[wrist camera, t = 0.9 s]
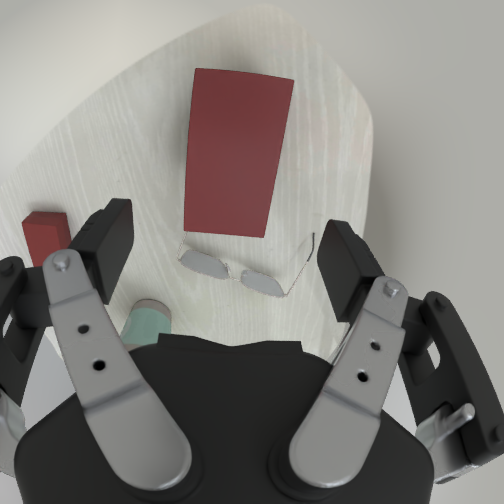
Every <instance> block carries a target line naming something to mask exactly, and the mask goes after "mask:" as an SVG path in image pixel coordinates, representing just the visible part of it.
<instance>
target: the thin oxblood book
mask: <svg viewBox="0 0 504 504" xmlns="http://www.w3.org/2000/svg"><path fill="white" fill-rule="evenodd" d="M293 85H294V80H291V79H286V78H280V77H275V76H268V75H262V74H255V73H247V72H239V71H229V70H218V69H204V68H195V74H194V82H193V91H192V101H191V111H190V122H189V133H188V146H187V161H186V179H185V201H184V231H190V232H202V233H214V234H226V235H237V236H248V237H259V238H264V235H265V230H266V225H267V220H268V215H269V210H270V204H271V199H272V194H273V189H274V184H275V179H276V174H277V169H278V164H279V159H280V153H281V148H282V143H283V138H284V133H285V127H286V122H287V117H288V112H289V106H290V101H291V96H292V91H293Z"/></svg>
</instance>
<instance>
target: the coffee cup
mask: <svg viewBox="0 0 504 504" xmlns="http://www.w3.org/2000/svg"><path fill="white" fill-rule="evenodd" d="M159 333H167V334H171V313H170V311H169V309H168V308H167V307H166V306H165V305H163V304H162V303H160V302H158V301H155V300H148V299H146V300H140V301H138V302H137V303H135V305H134V306H133V308H132V310H131V313H130V315H129V317H128V319H127V321H126V323H125V326H124V328H123V330H122V332H121V334H120V338H121V340H122V342H123V344H124V345H125V347H126V349H127V351H130V350H132V349H135V348H137V347H140V346H143V345H147V344H153V343H157V340H158V335H159Z"/></svg>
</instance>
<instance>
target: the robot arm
mask: <svg viewBox="0 0 504 504" xmlns="http://www.w3.org/2000/svg"><path fill="white" fill-rule="evenodd" d="M133 242H134V226H133V212H132V202H131V200H130V199H120V198H113V199H111V201H110V202H109V203H108V205H107V206H106V207H105V209H104V210H102V209H100V210H98V211H97V212H95V213H94V214H92V215H91V216H90V217H89V218H88V220H87V221H86V222H85V224H84V225H83V226H82V228H81V231H79V232H78V233H77V235H76V236H75V238H74V239H73V240H72V242H71V243H70V245H69V246H68V248H67V249H62V250H58V251H56V252H54V253H52V254H50V255H49V256H48V257H47V258H46V259H45V261H44V262H43V266H37V267H30V268H25V266H24V263H23V260H22V259H21V258H20V257H18V256H10V257H7V258H4V259H2V260H1V261H0V472H3V473H5V474H7V475H9V476H12V477H14V478H16V481H17V484H18V487H19V490H20V493H21V496H22V500H23V504H429V501H430V496H431V491H432V487H433V483H436V484H443V483H446V482H448V481H451V480H453V479H455V478H458V477H460V476H462V475H464V474H466V473H468V472H470V471H472V470H474V469H476V468H478V467H480V466H482V465H483V464H485V463H488V462H490V461H491V460H493V459H495V458H497V457H498V456H500V455H502V454H503V453H504V413H503V411H502V408H501V405H500V402H499V400H498V397H497V395H496V392H495V390H494V387H493V385H492V382H491V380H490V378H489V375H488V373H487V371H486V368H485V366H484V364H483V362H482V360H481V358H480V356H479V353H478V351H477V349H476V347H475V345H474V343H473V342H472V339H471V338H470V336H469V334H468V332H467V330H466V328H465V326H464V324H463V322H462V320H461V319H460V317H459V315H458V313H457V312H456V310H455V308H454V306H453V305H452V303H451V302H450V300H449V299H448V298H446V297H445V296H444V295H442V294H440V293H438V292H434V291H431V292H429V293H427V295H426V296H425V298H424V299H423V301H422V300H419V299H415V298H413V297H409V296H408V292H407V290H406V288H405V287H404V286H403V285H402V284H401V283H400V282H399V281H397V280H396V279H394V278H391V277H388V276H385V274H384V272H383V271H382V269H381V267H380V265H379V264H378V262H377V260H376V259H375V258H374V255H373V254H372V252H371V251H370V249H369V247H368V245H367V244H366V243H365V241H364V240H363V239H361V238H360V237H359V236H358V235H357V234H355V233H354V232H353V230H352V228H351V227H350V225H349V223H348V222H346V221H339V220H332V219H330V220H329V221H328V222H327V225H326V228H325V231H324V234H323V237H322V240H321V243H320V246H319V249H318V253H317V264H318V267H319V270H320V272H321V275H322V278H323V281H324V284H325V286H326V289H327V292H328V295H329V298H330V301H331V304H332V307H333V310H334V313H335V316H336V319H337V322H349V324H350V327H349V328H348V330H347V332H346V334H345V336H344V337H343V339H342V341H341V343H340V345H339V347H338V349H337V351H336V352H335V354H334V356H333V358H332V360H331V362H330V363H328V362H327V361H325V360H324V359H322V358H320V357H317V356H315V355H313V354H310V353H307V352H303V350H302V345H301V341H262V342H257V343H251V344H245V345H239V346H226V345H223V344H219V343H216V342H212V341H209V340H205V339H202V338H198V337H195V336H187V335H176V334H167V333H159V335H158V340H157V343H153V344H147V345H143V346H140V347H137V348H135V349H132V350H130V351H127V349H126V347H125V345H124V344H123V342H122V340H121V338H120V336H119V334H118V332H117V331H116V329H115V327H114V325H113V323H112V321H111V319H110V317H109V315H108V313H107V311H106V309H105V307H104V304H105V305H108V304H109V302H110V299H111V297H112V294H113V292H114V289H115V287H116V284H117V282H118V279H119V277H120V274H121V272H122V270H123V267H124V265H125V263H126V260H127V258H128V256H129V253H130V251H131V249H132V246H133ZM9 314H10V315H11V317H12V318H13V319H12V321H11V323H10V325H9V327H8V330H7V332H6V334H5V336H4V338H3V326H4V324H5V322H6V319H7V318H8V315H9ZM50 326H53V327H54V331H55V334H56V337H57V341H58V344H59V347H60V350H61V353H62V356H63V359H64V362H65V365H66V367H67V370H68V373H69V375H70V378H71V381H72V383H73V386H74V388H75V391H76V392H75V393H74V394H73V395H71V396H70V397H69V398H68V399H66V400H65V401H64V402H63V403H61V404H60V405H59V406H58V407H56V408H55V409H54V410H53V411H52V412H50V413H49V414H48V415H46V416H45V417H44V418H43V419H41V420H40V421H39V422H38V423H37V424H35V425H34V426H33V427H32V428H30V429H29V430H28V431H27V429H26V427H25V418H24V414H23V412H22V410H21V409H20V407H21V403H22V399H23V395H24V392H25V388H26V384H27V381H28V378H29V374H30V371H31V368H32V365H33V362H34V359H35V356H36V353H37V350H38V347H39V345H40V342H41V339H42V336H43V334H44V331H45V329H46V327H50ZM433 341H434V342H435V344H436V347H437V349H438V351H439V354H440V363H439V366H438V367H437V368H436V370H435V367H434V365H433V363H432V360H431V357H430V355H429V353H428V350H427V348H428V347H429V346H430V345H431V343H432V342H433ZM397 362H398V365H399V368H400V371H401V374H402V378H403V381H404V384H405V387H406V390H407V394H408V397H409V400H410V404H411V407H412V411H413V414H414V418H415V422H416V426H417V430H416V433H415V437H414V436H413V435H412V434H411V433H410V432H409V431H407V430H406V429H405V428H404V427H403V426H401V425H400V424H399V423H398V422H397V421H396V420H394V419H393V418H392V417H391V416H390V415H389V414H388V413H386V412H385V411H384V410H383V409H382V407H383V404H384V401H385V399H386V396H387V393H388V390H389V387H390V384H391V381H392V378H393V375H394V371H395V369H396V365H397Z"/></svg>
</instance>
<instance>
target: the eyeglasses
mask: <svg viewBox="0 0 504 504" xmlns="http://www.w3.org/2000/svg"><path fill="white" fill-rule="evenodd" d="M186 234H187V231H186ZM186 234H185V236H184V238H183V241H182V243H181V246H180V248H179V251H178V253H177V256H176V260H177V261H179V262H181V264H182V265H183V266H185V267H186V268H188V269H191V270H193V271H195V272H198V273H201V274H203V275H206V276H209V277H213V278H217V279H223V280H225V279H228V278H231V279H235V280H238V281H241V282H242V284H243V285H244V286H246V287H247V288H249V289H251V290H254V291H256V292H259V293H262V294H265V295H269V296H273V297H278V298H283V297H284V296H286V297H287V296H288V295H289V293H290V292H291V290H292V288H293V287H294V285H295V283H296V282H297V280H298V278H299V276H300V275H301V273H302V271H303V269H304V268H305V266H306V264H307V262H308V261H309V259H310V257H311V255H312V253H313V250H314V233H313V248H312V252H311V254H310V256H309V258H308V260H307V262H306V264H305V265H304V267H303V269H302V270H301V272H300V274H299V275H298V277H297V279H296V280H295V282H294V284H293V285H292V287H291V288H290V290H289V292H288V293H287V294H284V293H283V290H282V288H281V286H280V285H279V283H278V282H277V281H276V280H275V279H274V278H272V277H270V276H267V275H265V274H262V273H259V272H255V271H251V270H244V271H243V272H242V276H241V280H239V279H236V278H233V277H229V274H228V270H229V272H230V271H231V270H230V268H229V266H228V265H227V263H225V264H226V266H227V267H225V265H224V264H223V263H222V262H221V261H220V260H218V259H216V258H214V257H212V256H209V255H207V254H204V253H201V252H198V251H194V250H187V251H186V252H185V253H184V254H183V256H182V257H181V260H180V259H178V255H179V252H180V250H181V247H182V244H183V242H184V239H185V237H186Z"/></svg>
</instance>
